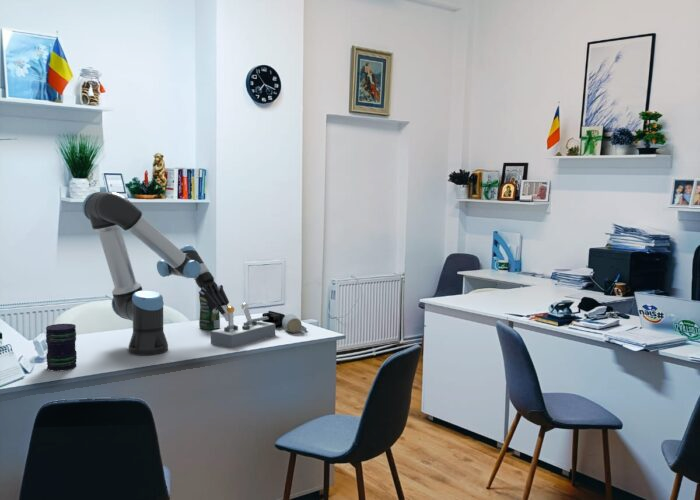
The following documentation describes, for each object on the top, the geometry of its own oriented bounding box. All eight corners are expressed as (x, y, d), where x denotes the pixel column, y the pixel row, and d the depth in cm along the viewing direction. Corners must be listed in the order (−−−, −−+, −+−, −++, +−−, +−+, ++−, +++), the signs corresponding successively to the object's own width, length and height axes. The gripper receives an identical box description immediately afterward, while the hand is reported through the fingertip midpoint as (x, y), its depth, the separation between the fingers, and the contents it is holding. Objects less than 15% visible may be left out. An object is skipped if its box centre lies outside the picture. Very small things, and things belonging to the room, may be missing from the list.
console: (210, 343, 263) (210, 327, 262) (255, 331, 286) (255, 316, 285) (231, 347, 256) (231, 331, 255) (275, 335, 279) (275, 320, 279)
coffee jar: (196, 328, 291) (196, 288, 289) (209, 325, 297) (209, 287, 295) (209, 331, 285) (209, 291, 283) (222, 328, 291) (222, 289, 289)
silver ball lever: (245, 326, 273) (238, 304, 274) (251, 325, 276) (244, 303, 277) (250, 324, 271) (243, 302, 273) (256, 322, 274) (249, 301, 276)
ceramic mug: (287, 334, 282) (287, 317, 281) (281, 330, 289) (282, 314, 289) (309, 332, 286) (309, 316, 286) (303, 329, 294) (303, 313, 293)
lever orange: (225, 329, 263) (224, 306, 262) (231, 328, 266) (230, 305, 265) (231, 330, 261) (230, 306, 261) (236, 329, 264) (236, 305, 264)
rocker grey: (251, 321, 279) (251, 318, 279) (258, 320, 283) (257, 317, 283) (262, 320, 275) (261, 317, 276) (268, 318, 279) (268, 315, 279)
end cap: (286, 326, 297) (286, 313, 297) (274, 329, 292) (274, 314, 292) (273, 323, 304) (273, 309, 304) (261, 325, 299) (261, 311, 299)
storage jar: (49, 372, 217) (48, 330, 215) (44, 366, 225) (43, 325, 223) (79, 368, 223) (78, 327, 221) (73, 362, 231) (72, 322, 229)
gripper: (209, 279, 280) (236, 321, 273) (186, 283, 268) (214, 327, 261) (218, 269, 276) (246, 311, 270) (195, 272, 264) (223, 317, 258)
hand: (230, 319), depth 266 cm, fingers closed
